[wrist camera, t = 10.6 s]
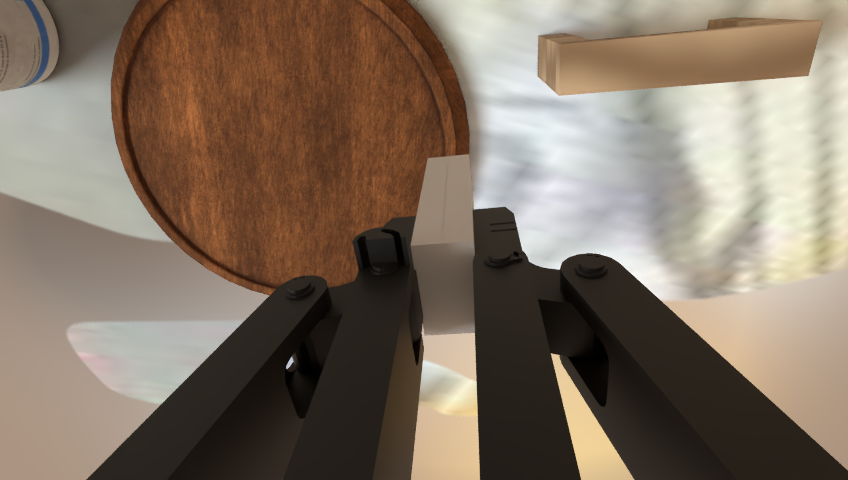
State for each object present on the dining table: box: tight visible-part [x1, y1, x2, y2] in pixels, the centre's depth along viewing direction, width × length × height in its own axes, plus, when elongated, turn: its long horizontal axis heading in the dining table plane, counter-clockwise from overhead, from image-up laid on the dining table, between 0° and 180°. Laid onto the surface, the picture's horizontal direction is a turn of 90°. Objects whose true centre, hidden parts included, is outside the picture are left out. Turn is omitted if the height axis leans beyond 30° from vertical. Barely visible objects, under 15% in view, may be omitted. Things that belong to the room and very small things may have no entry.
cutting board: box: [111, 0, 469, 295], centre depth 41 cm, size 32×32×3 cm
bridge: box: [538, 18, 822, 95], centre depth 32 cm, size 3×15×9 cm, turn 95°
